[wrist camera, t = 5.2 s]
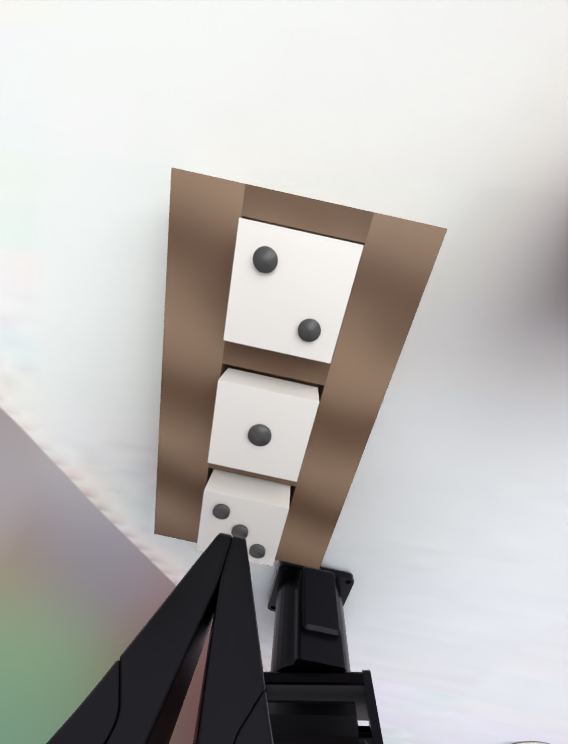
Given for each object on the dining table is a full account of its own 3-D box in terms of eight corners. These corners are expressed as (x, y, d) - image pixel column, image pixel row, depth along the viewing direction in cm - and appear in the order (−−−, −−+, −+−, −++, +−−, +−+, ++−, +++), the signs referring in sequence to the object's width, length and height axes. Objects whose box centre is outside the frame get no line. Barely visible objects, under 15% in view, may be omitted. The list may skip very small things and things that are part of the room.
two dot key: (327, 352, 14) (330, 365, 12) (233, 332, 14) (222, 341, 12) (355, 249, 12) (365, 244, 10) (248, 226, 12) (237, 216, 10)
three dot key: (275, 540, 19) (272, 569, 17) (206, 525, 19) (195, 553, 17) (290, 485, 17) (289, 511, 15) (213, 468, 17) (202, 493, 15)
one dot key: (297, 460, 16) (296, 484, 14) (217, 443, 16) (206, 465, 14) (317, 387, 14) (319, 403, 13) (228, 367, 14) (216, 381, 13)
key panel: (317, 531, 22) (319, 569, 19) (173, 500, 22) (154, 533, 19) (418, 238, 14) (447, 228, 11) (197, 189, 14) (171, 167, 11)
